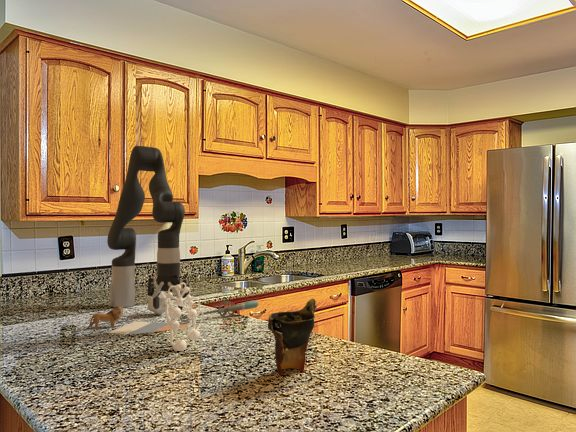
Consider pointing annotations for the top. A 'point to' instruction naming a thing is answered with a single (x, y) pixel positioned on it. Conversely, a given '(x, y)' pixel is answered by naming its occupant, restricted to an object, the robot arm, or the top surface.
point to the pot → (292, 336)
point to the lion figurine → (107, 317)
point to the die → (161, 303)
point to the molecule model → (176, 313)
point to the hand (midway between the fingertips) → (168, 309)
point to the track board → (142, 327)
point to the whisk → (228, 308)
